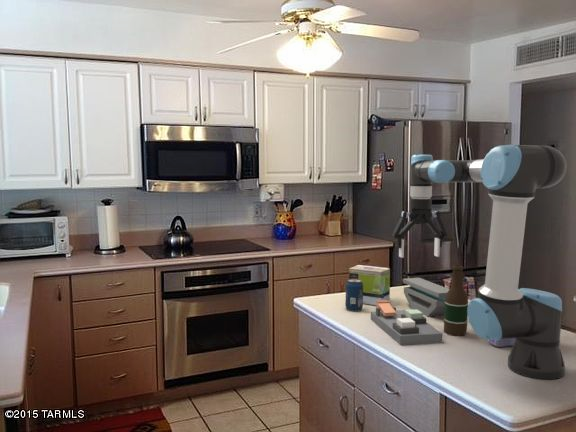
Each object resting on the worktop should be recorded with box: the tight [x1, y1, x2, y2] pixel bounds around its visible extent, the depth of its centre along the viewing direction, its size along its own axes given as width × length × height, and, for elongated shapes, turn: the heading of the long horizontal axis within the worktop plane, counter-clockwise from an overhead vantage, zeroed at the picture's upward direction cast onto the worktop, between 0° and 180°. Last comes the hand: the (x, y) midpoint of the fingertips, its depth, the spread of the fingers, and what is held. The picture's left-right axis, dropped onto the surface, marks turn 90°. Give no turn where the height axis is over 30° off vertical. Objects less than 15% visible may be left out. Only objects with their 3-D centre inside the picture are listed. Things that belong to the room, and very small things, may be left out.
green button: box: [404, 309, 424, 319], centre depth 190 cm, size 5×5×2 cm
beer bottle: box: [443, 264, 469, 337], centre depth 186 cm, size 8×8×24 cm
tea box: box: [348, 264, 391, 306], centre depth 226 cm, size 15×10×15 cm, turn 58°
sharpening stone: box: [402, 277, 450, 317], centre depth 212 cm, size 25×8×11 cm, turn 20°
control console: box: [370, 305, 444, 346], centre depth 189 cm, size 28×15×6 cm, turn 11°
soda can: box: [344, 278, 364, 312], centre depth 214 cm, size 7×7×12 cm
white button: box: [397, 318, 415, 328], centre depth 180 cm, size 5×5×2 cm
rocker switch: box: [375, 300, 396, 316], centre depth 197 cm, size 9×4×2 cm, turn 11°
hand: (419, 256), depth 192 cm, fingers open, 13 cm apart
